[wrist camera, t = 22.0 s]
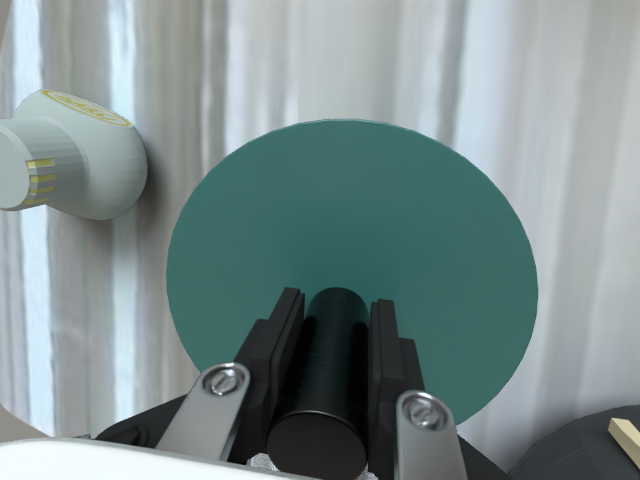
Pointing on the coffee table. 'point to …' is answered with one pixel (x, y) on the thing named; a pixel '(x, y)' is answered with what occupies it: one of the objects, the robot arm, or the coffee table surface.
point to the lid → (353, 275)
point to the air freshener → (70, 157)
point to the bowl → (587, 449)
